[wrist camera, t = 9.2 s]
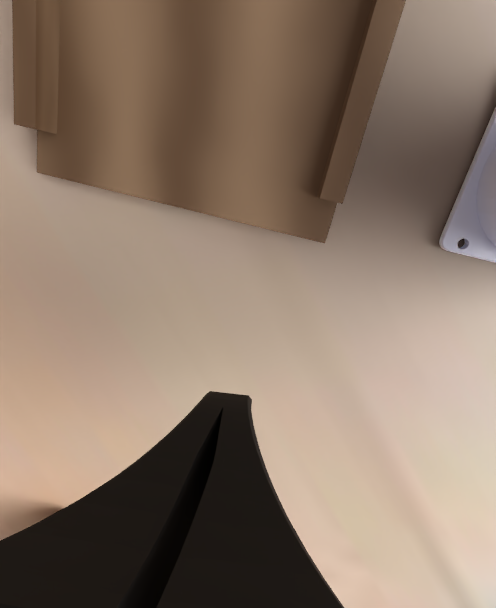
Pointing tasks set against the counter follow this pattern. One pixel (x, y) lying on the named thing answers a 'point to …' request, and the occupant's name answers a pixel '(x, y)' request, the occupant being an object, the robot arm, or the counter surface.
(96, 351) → the counter surface
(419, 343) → the counter surface
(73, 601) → the robot arm
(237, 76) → the track
